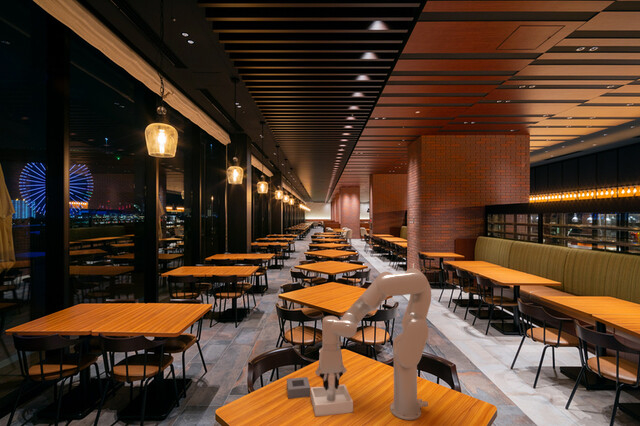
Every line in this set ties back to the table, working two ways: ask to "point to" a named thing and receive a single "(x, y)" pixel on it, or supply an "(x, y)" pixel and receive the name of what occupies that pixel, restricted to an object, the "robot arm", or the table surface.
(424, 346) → the robot arm
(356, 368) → the table surface
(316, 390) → the tray
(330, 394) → the pin
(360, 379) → the table surface
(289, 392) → the block
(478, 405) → the table surface
